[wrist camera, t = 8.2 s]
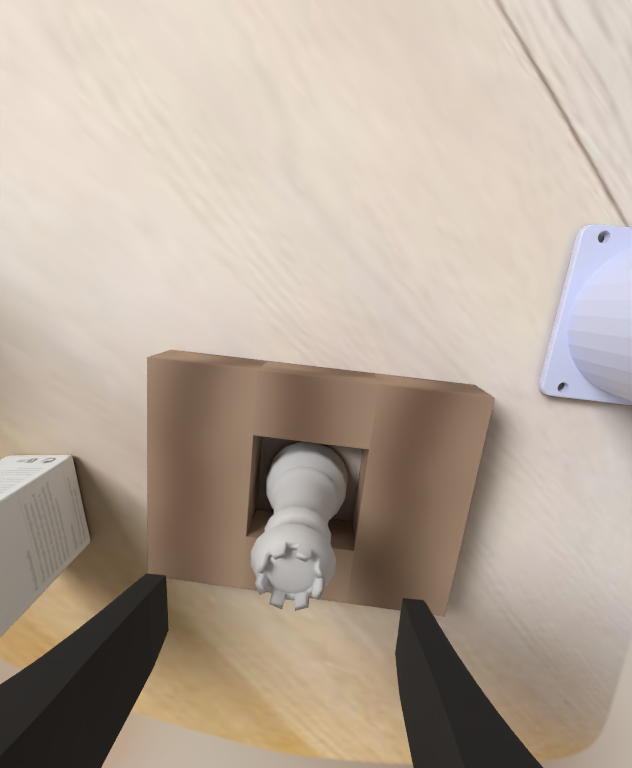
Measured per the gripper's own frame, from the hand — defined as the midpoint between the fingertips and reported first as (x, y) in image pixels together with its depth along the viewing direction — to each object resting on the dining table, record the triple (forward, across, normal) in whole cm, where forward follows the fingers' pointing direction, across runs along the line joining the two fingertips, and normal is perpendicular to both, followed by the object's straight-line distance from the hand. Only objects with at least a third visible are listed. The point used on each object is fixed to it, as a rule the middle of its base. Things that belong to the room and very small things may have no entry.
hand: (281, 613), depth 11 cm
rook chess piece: (+10, 0, 0) cm, 10 cm away
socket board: (+10, 0, 0) cm, 10 cm away
